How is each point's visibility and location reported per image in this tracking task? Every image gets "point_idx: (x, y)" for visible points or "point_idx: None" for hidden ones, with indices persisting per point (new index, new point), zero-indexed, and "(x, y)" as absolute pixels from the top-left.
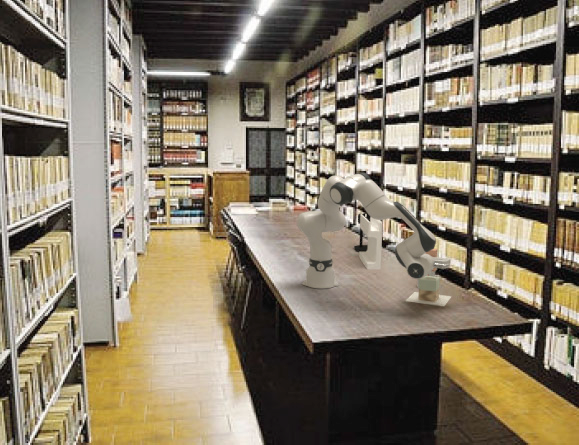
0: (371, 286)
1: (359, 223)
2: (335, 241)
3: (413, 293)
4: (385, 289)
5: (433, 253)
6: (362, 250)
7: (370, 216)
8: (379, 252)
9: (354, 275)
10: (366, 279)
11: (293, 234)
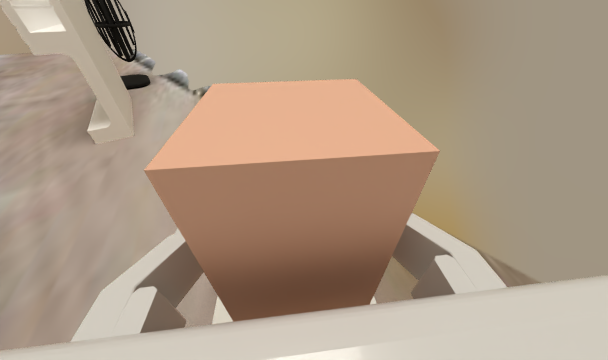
0: (35, 283)
1: None
2: None
3: (219, 299)
4: (95, 294)
5: (383, 209)
6: None
7: (114, 21)
8: (107, 97)
9: (26, 192)
10: (55, 210)
11: (17, 70)
